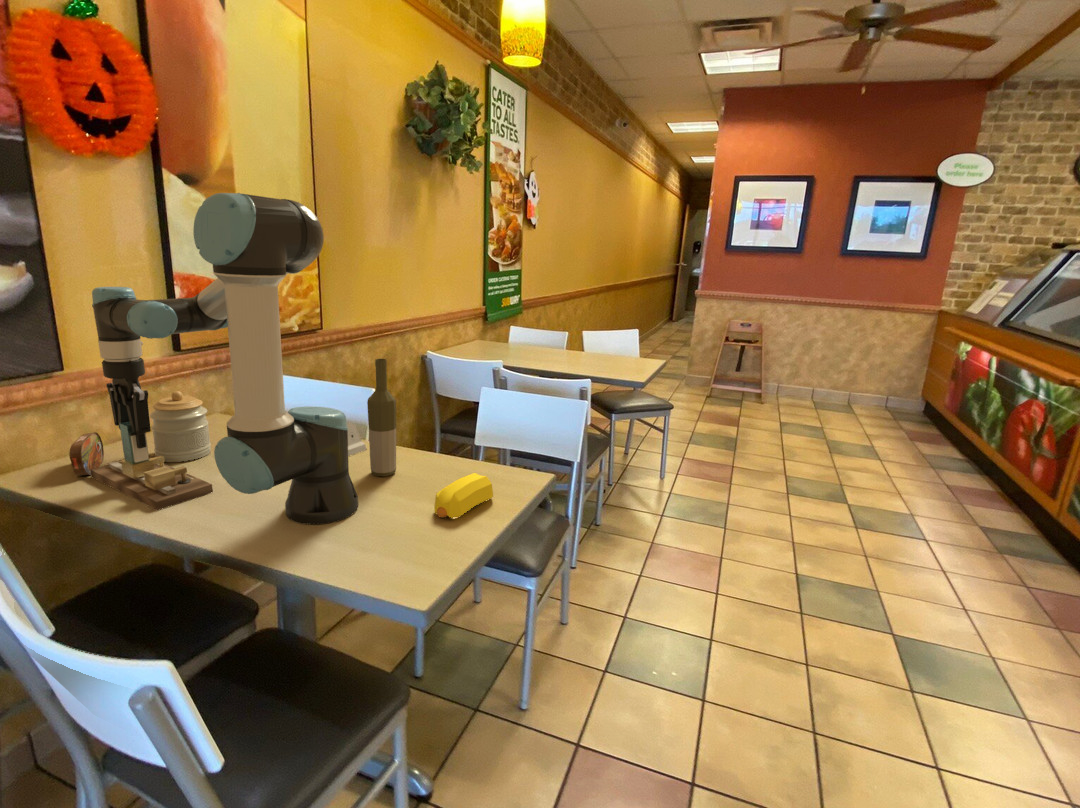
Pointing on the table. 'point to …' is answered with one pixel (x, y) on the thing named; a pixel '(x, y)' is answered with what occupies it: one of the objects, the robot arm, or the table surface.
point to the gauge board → (149, 492)
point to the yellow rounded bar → (463, 495)
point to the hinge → (354, 440)
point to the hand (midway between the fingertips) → (136, 458)
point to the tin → (86, 453)
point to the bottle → (382, 425)
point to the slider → (128, 464)
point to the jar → (180, 428)
